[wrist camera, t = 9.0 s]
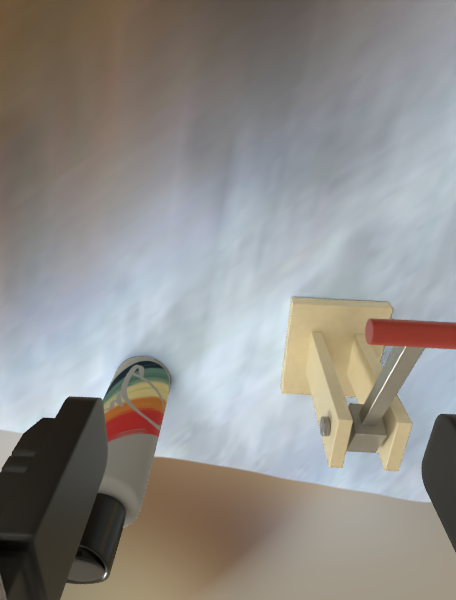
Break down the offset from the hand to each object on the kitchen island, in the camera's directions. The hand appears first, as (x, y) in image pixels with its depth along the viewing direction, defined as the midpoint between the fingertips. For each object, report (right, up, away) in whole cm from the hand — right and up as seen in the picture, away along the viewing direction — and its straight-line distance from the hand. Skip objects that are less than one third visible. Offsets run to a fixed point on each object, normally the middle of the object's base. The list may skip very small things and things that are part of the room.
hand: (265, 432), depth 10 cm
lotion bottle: (-10, -5, +33) cm, 35 cm away
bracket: (+9, -1, +31) cm, 33 cm away
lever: (+9, -2, +18) cm, 20 cm away
